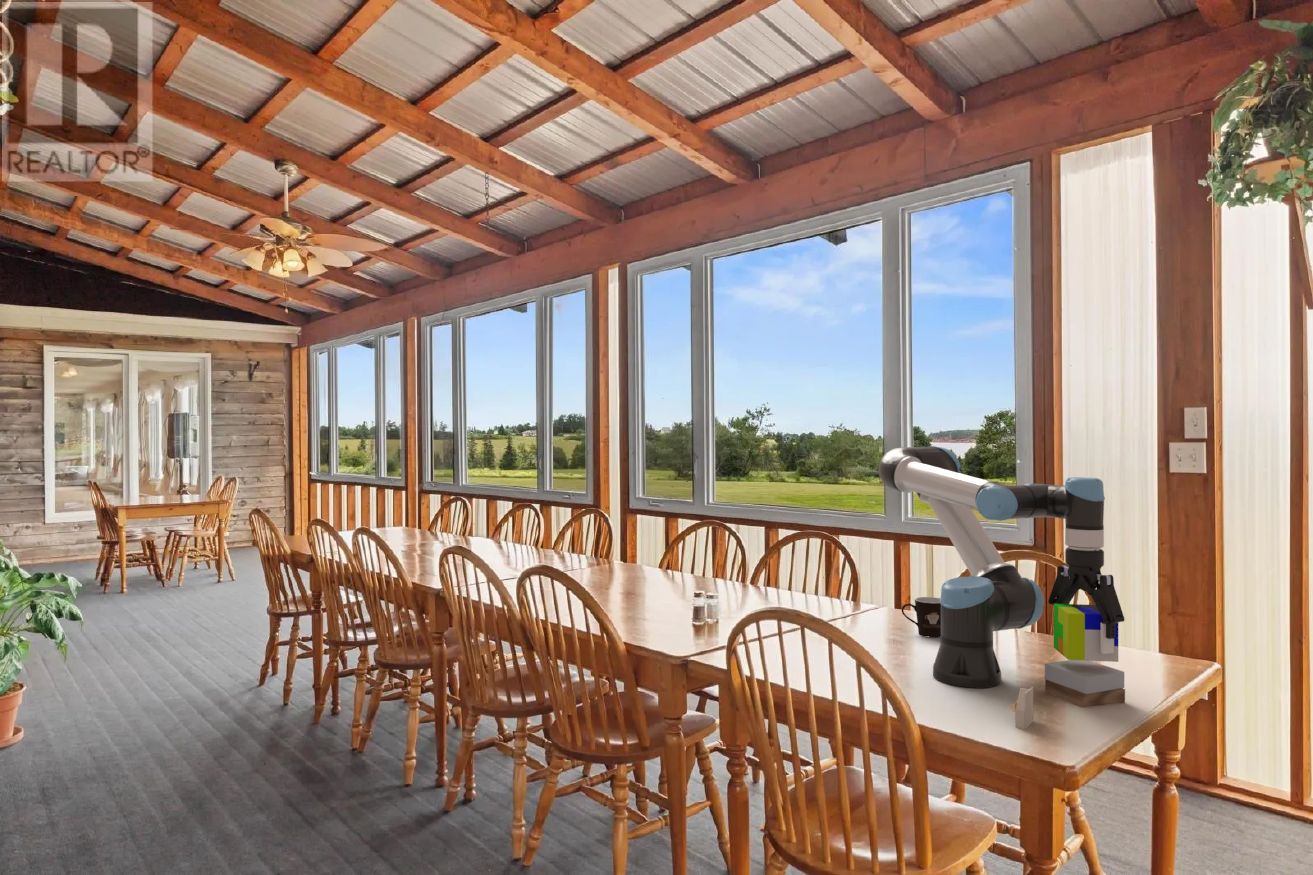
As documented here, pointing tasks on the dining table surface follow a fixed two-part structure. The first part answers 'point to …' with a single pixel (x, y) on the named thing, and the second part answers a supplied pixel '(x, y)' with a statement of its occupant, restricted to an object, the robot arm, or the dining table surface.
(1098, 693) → the walnut block
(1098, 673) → the slate-grey block
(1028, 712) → the architectural model
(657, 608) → the dining table surface
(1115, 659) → the puzzle toy
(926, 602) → the coffee mug
